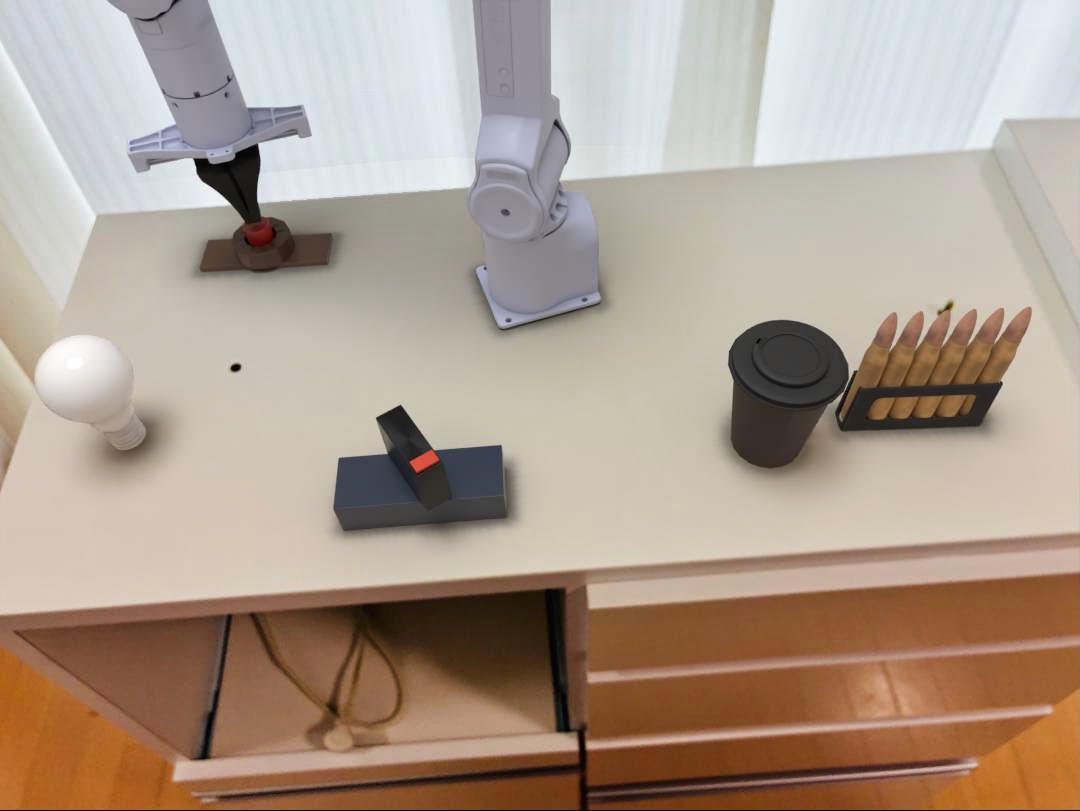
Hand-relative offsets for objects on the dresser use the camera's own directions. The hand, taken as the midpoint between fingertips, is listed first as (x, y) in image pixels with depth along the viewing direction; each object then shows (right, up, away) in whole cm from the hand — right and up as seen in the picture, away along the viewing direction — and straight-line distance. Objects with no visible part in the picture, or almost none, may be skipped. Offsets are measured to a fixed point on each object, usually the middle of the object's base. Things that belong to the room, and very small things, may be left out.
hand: (253, 216), depth 75 cm
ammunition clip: (+55, -18, -11) cm, 59 cm away
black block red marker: (+18, -22, -16) cm, 33 cm away
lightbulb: (-6, -20, -9) cm, 23 cm away
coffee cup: (+44, -20, -12) cm, 49 cm away
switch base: (+18, -24, -14) cm, 33 cm away
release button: (0, -2, +2) cm, 3 cm away
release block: (0, -3, +4) cm, 5 cm away
